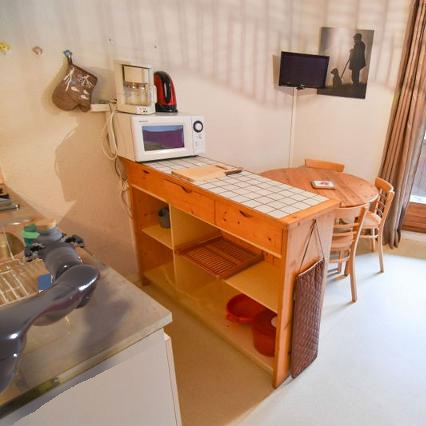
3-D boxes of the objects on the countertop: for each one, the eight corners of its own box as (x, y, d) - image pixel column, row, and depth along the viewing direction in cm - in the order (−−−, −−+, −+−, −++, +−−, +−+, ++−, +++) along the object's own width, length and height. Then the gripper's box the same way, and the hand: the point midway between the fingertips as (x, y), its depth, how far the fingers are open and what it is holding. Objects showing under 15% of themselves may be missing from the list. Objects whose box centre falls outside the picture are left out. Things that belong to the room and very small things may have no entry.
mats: (37, 318, 85) (36, 317, 85) (38, 276, 101) (38, 275, 101) (87, 304, 92) (86, 303, 92) (80, 267, 108) (80, 266, 108)
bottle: (71, 266, 99) (59, 222, 93) (47, 272, 95) (33, 227, 90) (67, 258, 103) (56, 216, 97) (44, 264, 99) (31, 220, 93)
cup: (54, 249, 117) (45, 219, 112) (63, 256, 113) (55, 226, 108) (26, 257, 110) (15, 226, 106) (34, 266, 106) (24, 234, 102)
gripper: (90, 240, 91) (74, 221, 101) (24, 257, 81) (13, 234, 91) (95, 262, 94) (79, 242, 104) (32, 281, 84) (21, 256, 94)
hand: (48, 238), depth 97 cm, fingers closed on bottle, 6 cm apart
